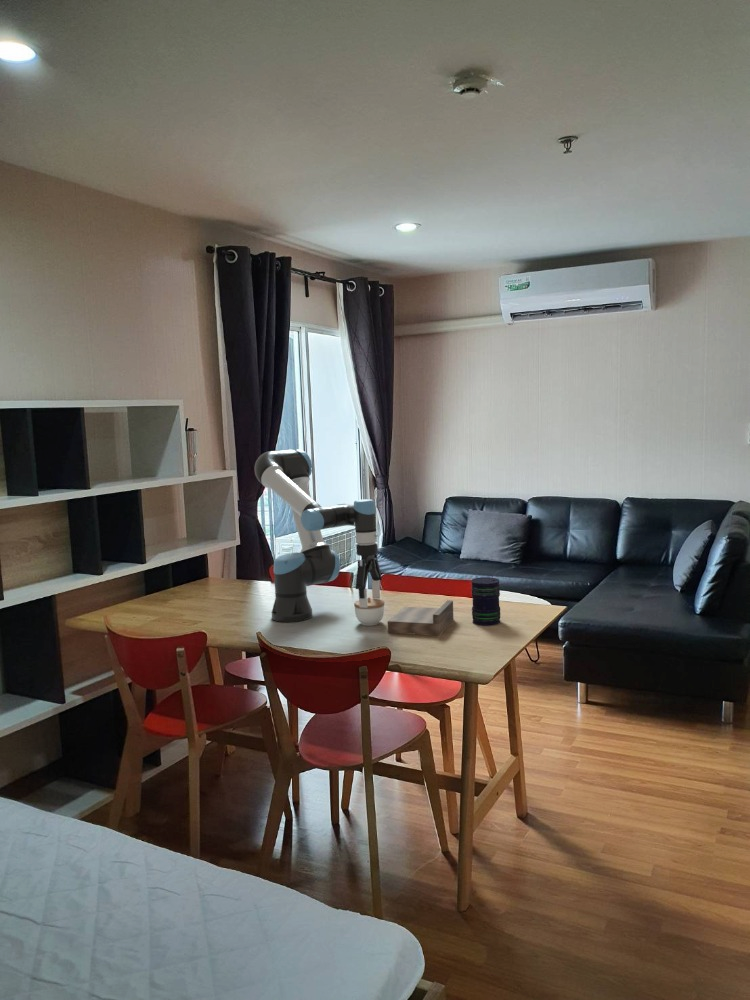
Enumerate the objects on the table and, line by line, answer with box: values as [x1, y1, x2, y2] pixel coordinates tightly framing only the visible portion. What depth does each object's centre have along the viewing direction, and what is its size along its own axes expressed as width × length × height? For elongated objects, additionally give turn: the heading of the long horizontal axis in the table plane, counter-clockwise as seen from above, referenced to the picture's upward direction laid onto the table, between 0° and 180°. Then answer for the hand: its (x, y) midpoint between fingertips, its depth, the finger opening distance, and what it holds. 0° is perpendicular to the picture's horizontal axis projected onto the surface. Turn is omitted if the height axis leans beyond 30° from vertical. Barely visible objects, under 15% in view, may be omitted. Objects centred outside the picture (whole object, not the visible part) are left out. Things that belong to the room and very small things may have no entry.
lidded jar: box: [354, 597, 385, 627], centre depth 273 cm, size 11×11×9 cm
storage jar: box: [470, 576, 501, 627], centre depth 268 cm, size 10×10×15 cm
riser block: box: [387, 600, 455, 636], centre depth 267 cm, size 18×20×7 cm
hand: (370, 602), depth 273 cm, fingers open, 13 cm apart
